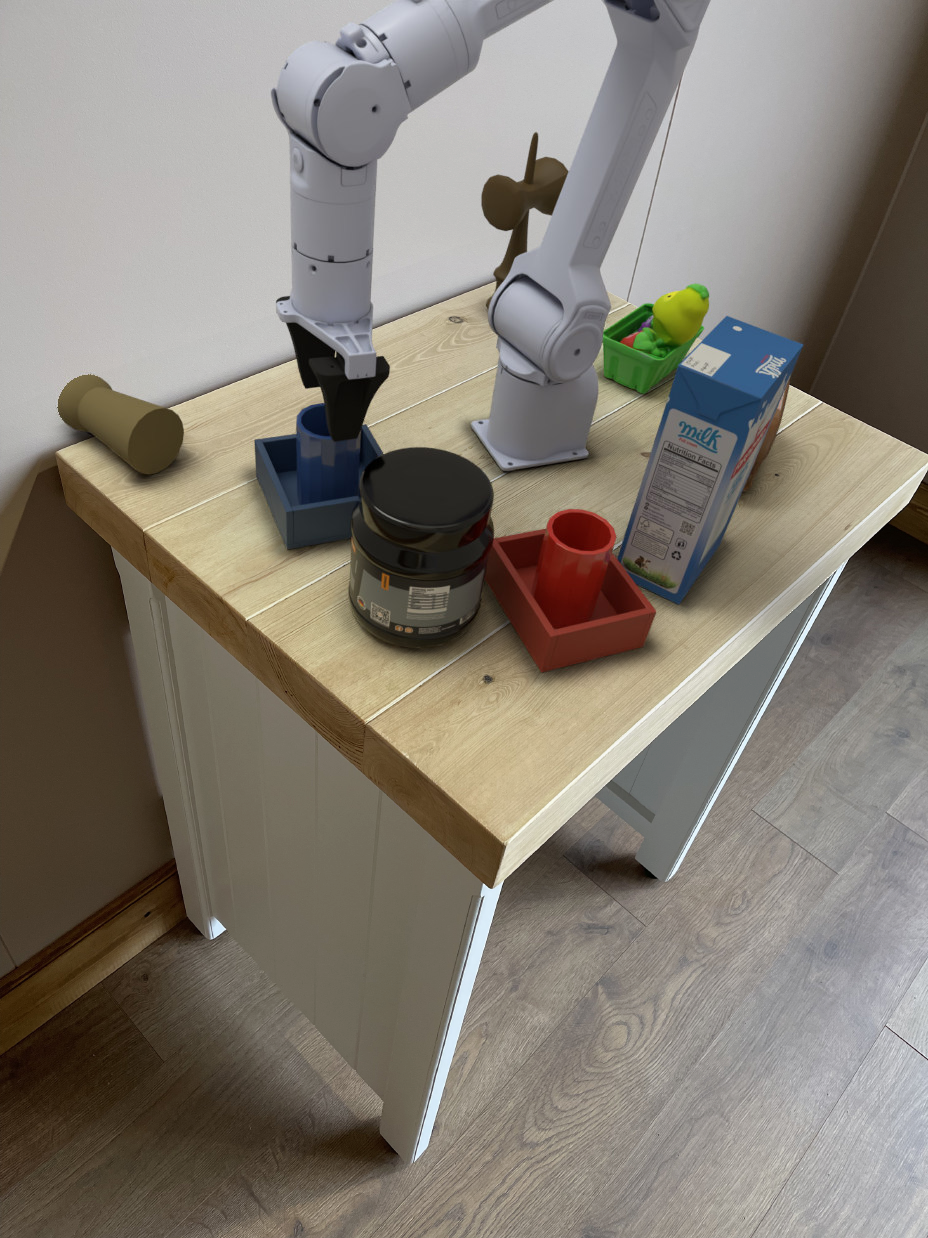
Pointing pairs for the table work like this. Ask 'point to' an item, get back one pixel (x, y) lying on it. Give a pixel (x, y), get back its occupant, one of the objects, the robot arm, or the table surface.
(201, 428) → the table surface
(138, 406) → the olive brown flared cylinder
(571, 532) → the red cup
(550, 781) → the table surface
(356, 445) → the blue cup
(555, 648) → the red bin
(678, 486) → the milk carton
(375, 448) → the blue bin
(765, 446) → the tin
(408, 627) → the supplement container
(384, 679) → the table surface
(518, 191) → the kendama
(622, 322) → the fruit basket
